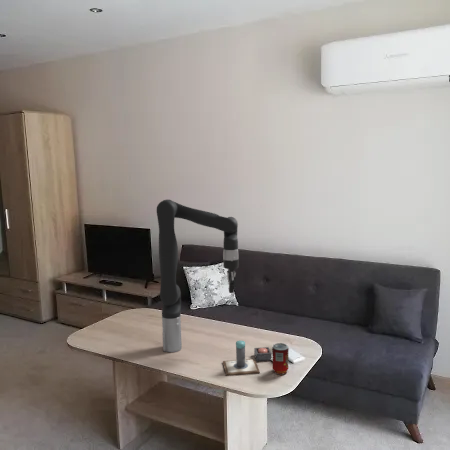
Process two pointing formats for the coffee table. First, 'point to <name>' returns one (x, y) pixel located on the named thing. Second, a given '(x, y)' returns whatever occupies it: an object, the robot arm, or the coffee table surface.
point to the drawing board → (248, 369)
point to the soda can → (280, 358)
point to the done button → (262, 350)
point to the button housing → (262, 355)
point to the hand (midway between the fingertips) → (231, 292)
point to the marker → (240, 353)
